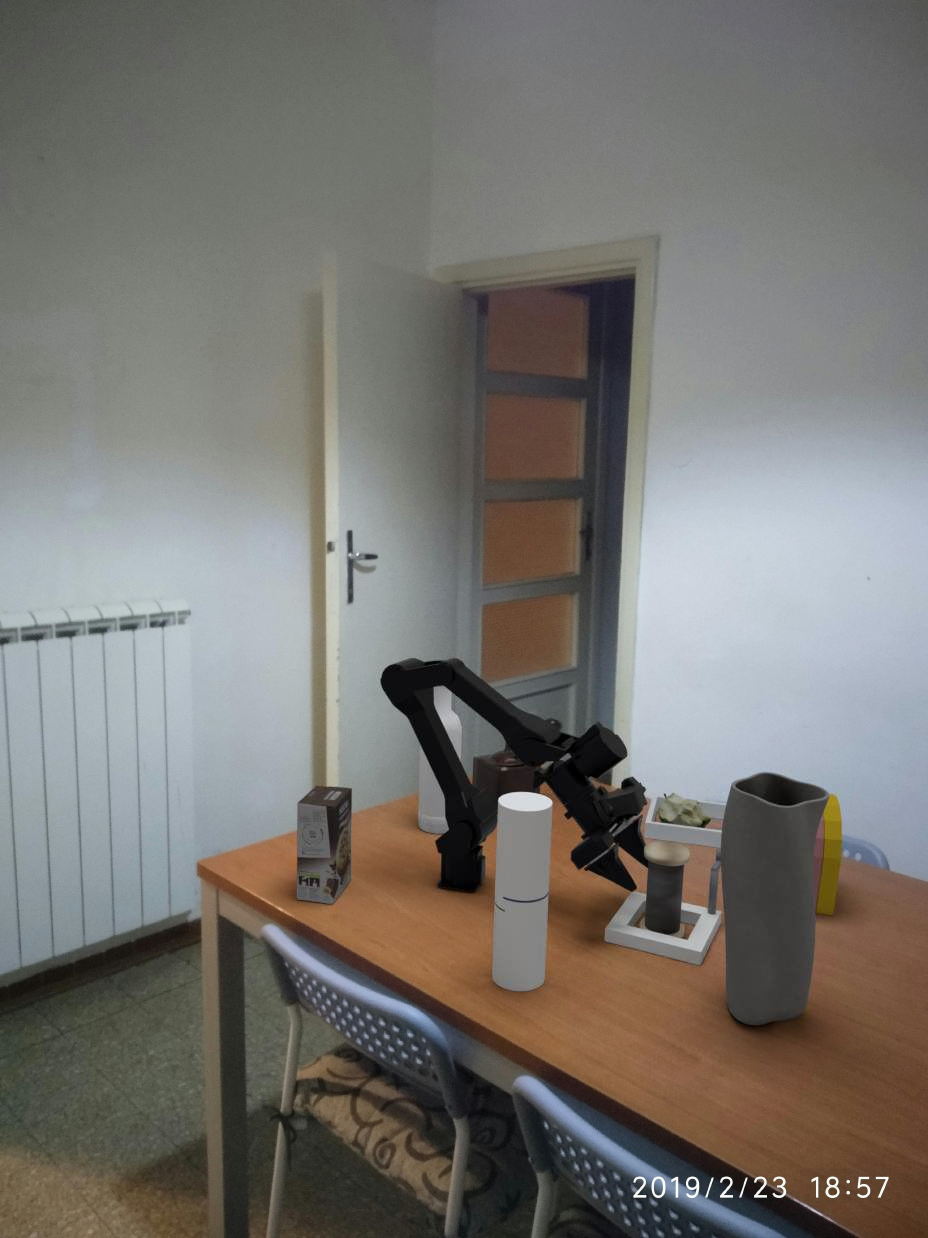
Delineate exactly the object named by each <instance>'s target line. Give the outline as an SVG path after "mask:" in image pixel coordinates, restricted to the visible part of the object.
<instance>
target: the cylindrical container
mask: <svg viewBox="0 0 928 1238" xmlns="http://www.w3.org/2000/svg"><path fill="white" fill-rule="evenodd" d="M497 817H498V822H497V826H496V828H497V829H496V852H495V853H496V854H495V884H494V908H493V909H494V912H493V913H494V915H493V940H492V941H493V942H492V943H493V944H492V966H491V967H492V970H491V971H492V972H491V975H492V976H491V977H492V980H493V982H494V983H495V984H496V985H497V986H498V987H501V988H503V989H505V990H508V991H512V992H529V991H534V990H537V989H538V988H540V987H541V986H542V985H544V982H545V978H546V960H547V959H546V957H547V940H548V939H547V937H548V936H547V935H548V914H549V913H548V912H549V890H550V887H549V886H550V870H551V869H550V868H551V851H552V850H551V846H552V845H551V844H552V827H553V826H552V824H553V823H552V822H553V800H552V799H551V798H549V797H548V796H546V795H543V794H541V793H540V794H536V793H530V792H514V793H508V794H505V795H502V796H501V797H500V798H499V799H498V815H497Z"/></svg>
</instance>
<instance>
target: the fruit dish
mask: <svg viewBox="0 0 928 1238" xmlns="http://www.w3.org/2000/svg"><path fill="white" fill-rule="evenodd" d="M668 796H669V795H666V797H668ZM682 798H683V797H682ZM683 799H685V798H683ZM665 800H666V798H665V796H664V795H660V794H659V795H657V794H653V795H652V797H651V800H650V805H649V807H648V812H647V814H646V819H645V823H644V835H643V839H644V838H645V839H651V840H657V841H664V842H672V843H679V844H680V843H681V844H689V845H697V846H703V847H711V848H716V849H721V834H722V829H720V830H719V829H712V828H706V827H705V828H698V827H691V826H683V825H675V824H667V823H661V821H660V822H658V821H655V819H656V815H657V813H658V809H659V807H660V805H661V803H663V802H664V801H665ZM692 800H694V799H692ZM696 800H697V801H698V802H699V806H700V807H701V810H702V811H703V813H705V814H706V815H707V816H709V817H710V818H711V819H718V820H723V819H724V813H725V808H726V804H727V802H726V803H724V802H716V801H710V800H699V799H696Z"/></svg>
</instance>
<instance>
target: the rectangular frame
mask: <svg viewBox="0 0 928 1238" xmlns="http://www.w3.org/2000/svg"><path fill="white" fill-rule="evenodd" d="M720 869H721V848H716V852H715V861H714V863H713V865H712V866H711V868H710V876H709V887H708V888H709V889H708V900H707V901H708V903H707V907H704V906H700V905H695V904H691V903H688V902H687V903H686V902H684V901H682V905H681V919H680V923H685V924H690V925H693V926H694V927H693V929H692V931H691V932H690V935H689V937H688V939H685V938H683V939H681V938H677V937H673V936H669V935H665V934H661V933H657V932H653V931H649V930H644V929H640V927H636V926H635V925H636V924H637V922H638V921H639V919H640V918H641V917H642V915H643V914H645V908H646V893H644V892H639V891H636V890H635V891H633V892H630V894H629V895H628V896H627V898H626V899H625V901H624V902H623V903H622V905H621V906H620V908H619V909H618V910H617V912H616V913H615V914H614V916H613V917H612V918H611V920H610V921H609V923H607V925H606V927H605V928H604V942H606V943H609V944H610V943H611V944H614V945H619V946H623V947H627V948H631V949H634V950H638V951H642V952H647V953H651V954H652V955H653V954H654V955H658V956H662V957H666V958H669V959H673V960H677V961H682V962H686V963H689V964H693V965H698V966H701V965H702V963H703V961H704V959H705V957H706V955H707V952H708V950H709V948H710V946H711V944H712V942H713V941H714V938H715V936H716V934H717V932H718V930H719V928H720V926H721V922H722V911H721V910H717V900H718V899H717V898H718V890H719V889H718V887H719V875H720V874H719V873H720Z"/></svg>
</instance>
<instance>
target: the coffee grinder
mask: <svg viewBox="0 0 928 1238" xmlns="http://www.w3.org/2000/svg"><path fill="white" fill-rule="evenodd" d="M544 720H546V721H547V722H549V723H551V724H553V725H554V726H556V727H557V729H558V730H559V731H561V732H562V729H563V723H562V722H561V721H560V720H559V719H557V718H554V717H548V718H546V719H544ZM504 742H505V741H504ZM538 768H542V765H540V766H536V767H529V766H527V765H525V764H523V763H522V762H521V761H520V760H519V759H518V758H517V757H516V755H515V754H514V753H513V752H512V751H511V750H510V749H509V748H508V746H507V744H506V742H505V743H504V749H501V750H498V751H496V752H494V753H489V754H484V755H478V756H473V759H472V781H471V784H472V785H473V786H474V787H476V788H477V789H478V790H479V791H480V792H481V791H483V790H484V789H488V791H489V792H490V796H491V799H492V801H493V803H494V805H495V806H496V807H497V808H498V799H499V798H500V797H501V796H502V795H505V794H508V793H514V792H530V793H536V794H541V785H540V786H539V787H538V788H537V789H534V788H533V787H532V786H533V780H534V771H535V770H536V769H538ZM496 813H497V816H498V811H496Z"/></svg>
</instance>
